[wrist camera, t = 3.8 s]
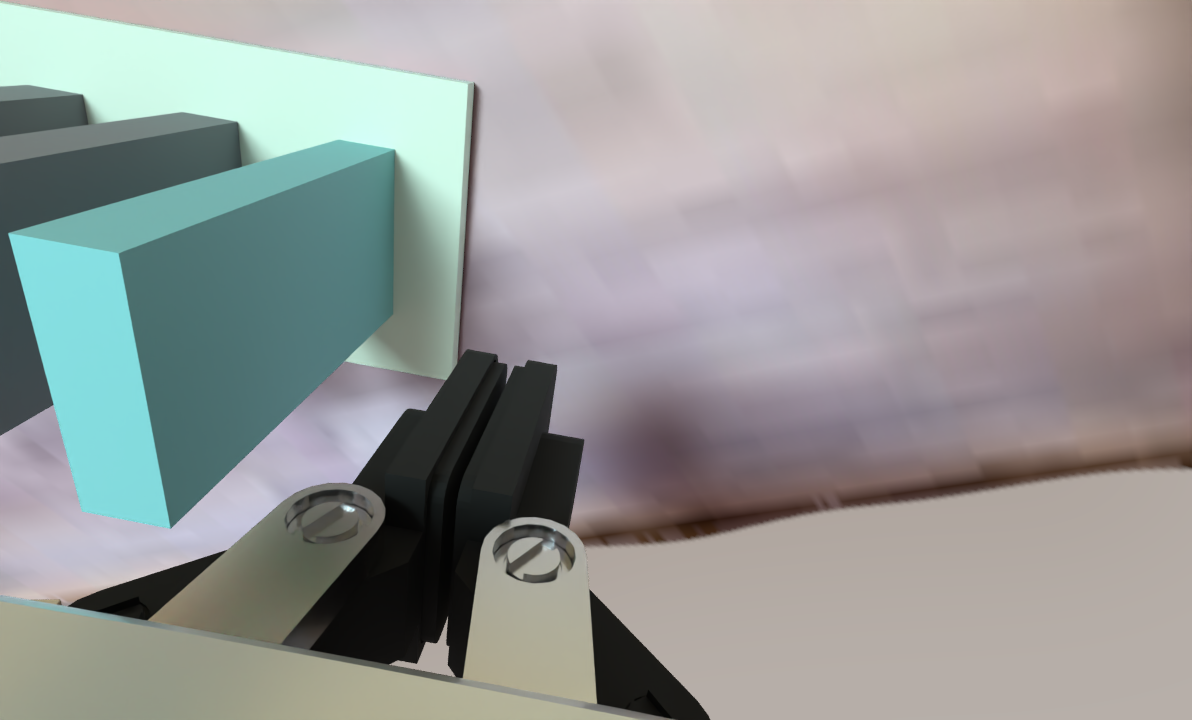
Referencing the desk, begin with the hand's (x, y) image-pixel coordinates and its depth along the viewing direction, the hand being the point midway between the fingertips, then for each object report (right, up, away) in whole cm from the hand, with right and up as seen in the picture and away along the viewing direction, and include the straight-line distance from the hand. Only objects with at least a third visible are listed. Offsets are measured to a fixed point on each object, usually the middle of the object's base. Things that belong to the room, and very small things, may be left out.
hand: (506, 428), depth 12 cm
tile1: (-5, +5, +7) cm, 10 cm away
